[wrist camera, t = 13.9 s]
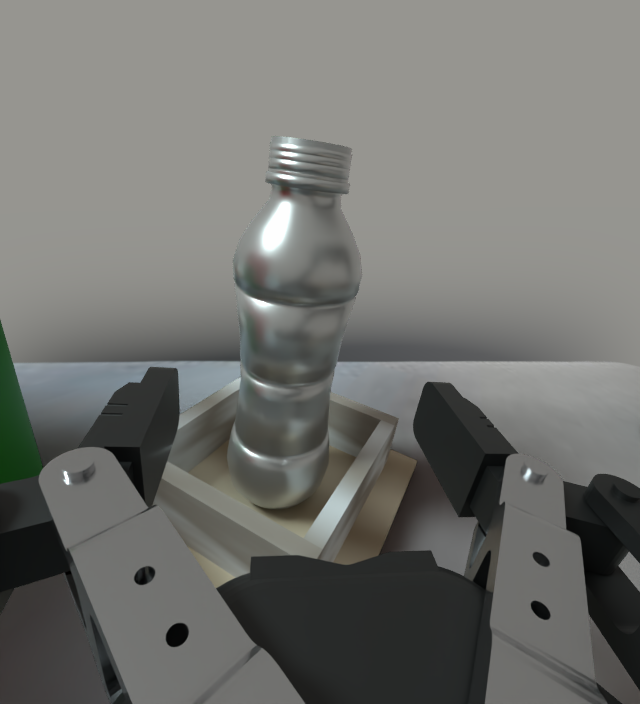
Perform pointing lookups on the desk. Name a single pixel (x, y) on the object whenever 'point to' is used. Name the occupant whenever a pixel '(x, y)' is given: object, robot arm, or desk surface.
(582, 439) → the desk surface
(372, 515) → the mounting cradle
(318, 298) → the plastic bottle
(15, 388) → the motor
